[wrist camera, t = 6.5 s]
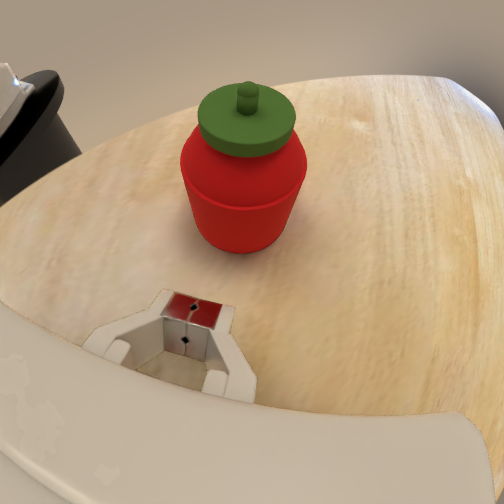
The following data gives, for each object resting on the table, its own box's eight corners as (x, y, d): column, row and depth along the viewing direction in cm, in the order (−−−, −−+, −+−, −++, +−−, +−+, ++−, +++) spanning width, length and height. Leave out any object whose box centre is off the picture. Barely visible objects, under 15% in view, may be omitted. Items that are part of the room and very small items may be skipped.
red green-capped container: (175, 211, 17) (132, 92, 8) (239, 158, 19) (246, 37, 10) (242, 273, 16) (254, 178, 7) (305, 209, 18) (359, 95, 8)
